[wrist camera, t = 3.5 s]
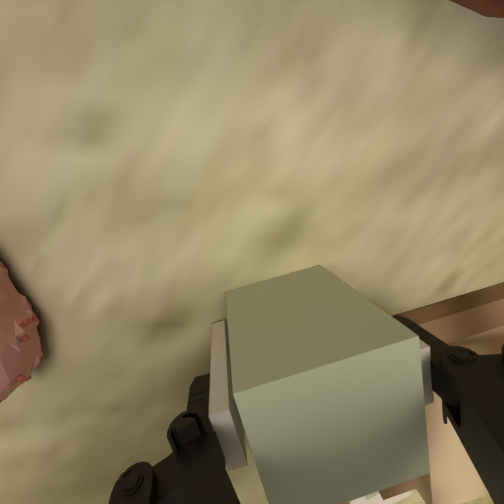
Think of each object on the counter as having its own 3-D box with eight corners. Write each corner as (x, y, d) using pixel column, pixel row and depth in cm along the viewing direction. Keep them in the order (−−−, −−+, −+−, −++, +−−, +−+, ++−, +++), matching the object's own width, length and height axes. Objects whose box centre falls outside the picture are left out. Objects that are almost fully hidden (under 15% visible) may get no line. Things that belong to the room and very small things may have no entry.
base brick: (371, 478, 21) (407, 545, 17) (346, 330, 17) (385, 371, 13) (525, 424, 21) (592, 476, 18) (533, 273, 18) (620, 296, 14)
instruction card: (317, 542, 21) (319, 548, 21) (285, 501, 20) (287, 507, 19) (409, 489, 21) (413, 494, 21) (385, 444, 20) (389, 449, 19)
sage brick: (249, 372, 17) (276, 527, 9) (225, 291, 15) (232, 394, 8) (334, 346, 17) (430, 473, 9) (319, 264, 16) (418, 335, 8)
